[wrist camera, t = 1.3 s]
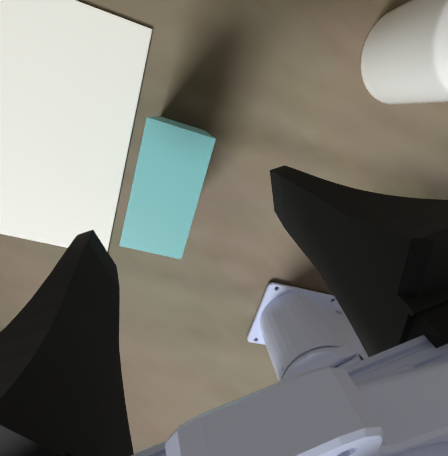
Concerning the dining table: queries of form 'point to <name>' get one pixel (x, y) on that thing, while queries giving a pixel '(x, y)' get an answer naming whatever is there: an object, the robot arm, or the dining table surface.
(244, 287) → the dining table surface
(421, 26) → the pill bottle
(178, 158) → the teal slab
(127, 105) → the mat
